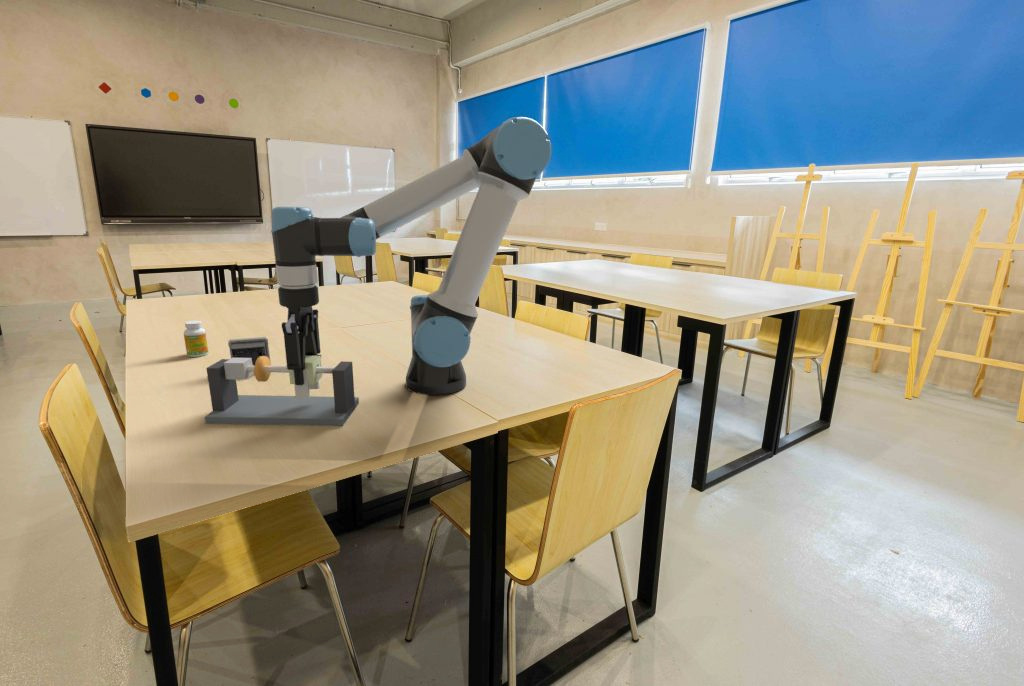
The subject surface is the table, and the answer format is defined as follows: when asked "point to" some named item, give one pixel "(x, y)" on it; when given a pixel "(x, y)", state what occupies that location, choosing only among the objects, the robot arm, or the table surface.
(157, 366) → the table surface
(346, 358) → the table surface
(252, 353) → the electrical switch
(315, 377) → the pale green sliding cube
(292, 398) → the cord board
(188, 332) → the supplement bottle
